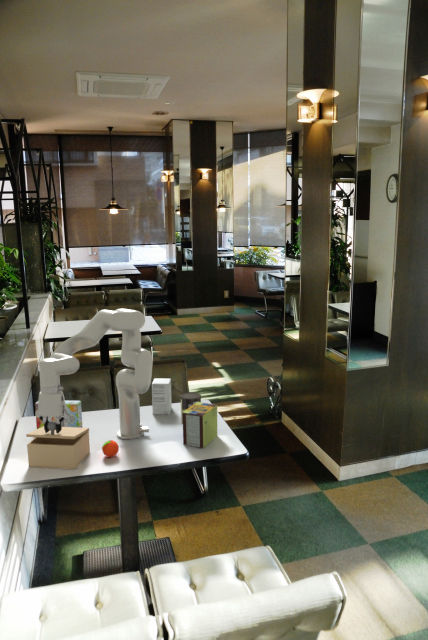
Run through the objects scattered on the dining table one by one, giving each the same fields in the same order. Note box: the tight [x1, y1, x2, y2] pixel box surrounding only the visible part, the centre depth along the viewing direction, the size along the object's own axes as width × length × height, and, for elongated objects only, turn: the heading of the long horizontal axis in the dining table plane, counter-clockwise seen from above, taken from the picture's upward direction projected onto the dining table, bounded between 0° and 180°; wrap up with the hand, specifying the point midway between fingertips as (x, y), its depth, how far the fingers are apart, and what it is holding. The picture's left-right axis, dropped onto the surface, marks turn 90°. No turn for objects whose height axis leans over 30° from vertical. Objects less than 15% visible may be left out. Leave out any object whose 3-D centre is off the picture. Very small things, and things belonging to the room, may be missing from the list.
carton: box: [26, 430, 91, 470], centre depth 214 cm, size 20×16×10 cm
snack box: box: [34, 400, 84, 430], centre depth 244 cm, size 21×6×15 cm, turn 84°
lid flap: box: [25, 421, 90, 439], centre depth 213 cm, size 20×16×6 cm
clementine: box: [101, 439, 120, 458], centre depth 217 cm, size 8×7×7 cm
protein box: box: [182, 401, 218, 449], centre depth 232 cm, size 10×15×16 cm
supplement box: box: [151, 377, 173, 415], centre depth 270 cm, size 10×9×17 cm
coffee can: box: [180, 391, 202, 425], centre depth 254 cm, size 10×10×14 cm
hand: (53, 431), depth 208 cm, fingers closed on lid flap, 4 cm apart
